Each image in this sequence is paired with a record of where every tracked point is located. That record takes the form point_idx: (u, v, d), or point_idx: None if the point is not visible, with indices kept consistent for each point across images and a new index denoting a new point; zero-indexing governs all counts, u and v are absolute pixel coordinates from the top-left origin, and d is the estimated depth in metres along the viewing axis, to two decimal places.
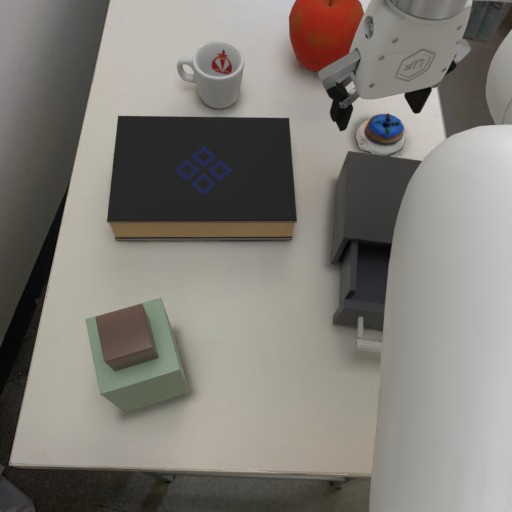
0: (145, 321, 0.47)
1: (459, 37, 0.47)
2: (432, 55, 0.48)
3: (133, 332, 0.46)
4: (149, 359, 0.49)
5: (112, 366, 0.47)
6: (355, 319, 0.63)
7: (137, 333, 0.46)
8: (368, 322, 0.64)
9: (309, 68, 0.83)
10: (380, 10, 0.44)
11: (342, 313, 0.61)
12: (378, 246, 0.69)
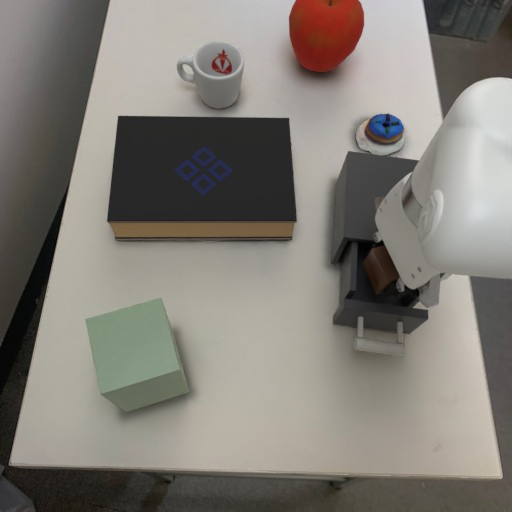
0: None
1: None
2: None
3: None
4: None
5: (383, 288, 0.59)
6: (355, 319, 0.63)
7: None
8: (368, 322, 0.64)
9: (309, 68, 0.83)
10: None
11: (342, 313, 0.61)
12: None
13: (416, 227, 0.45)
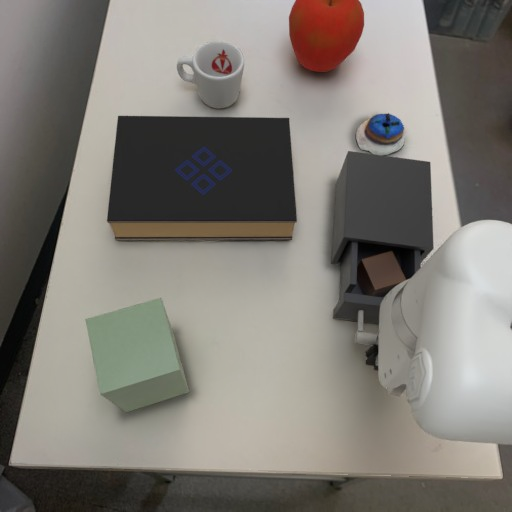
0: (397, 262, 0.64)
1: None
2: None
3: (391, 270, 0.63)
4: None
5: None
6: (355, 313, 0.64)
7: (393, 271, 0.63)
8: (368, 316, 0.64)
9: (309, 68, 0.83)
10: None
11: (343, 306, 0.62)
12: None
13: (395, 331, 0.44)
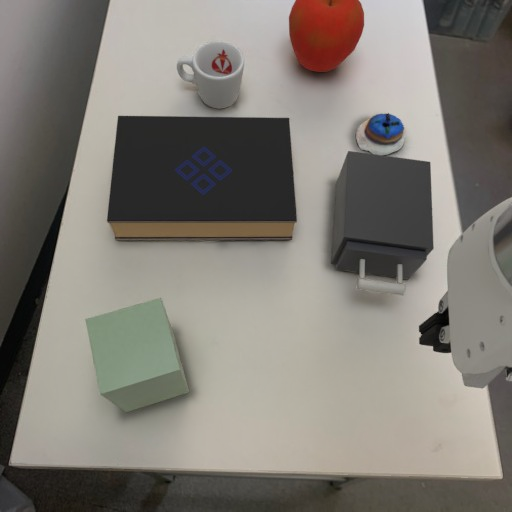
0: None
1: None
2: None
3: None
4: None
5: None
6: (357, 263, 0.67)
7: None
8: (369, 266, 0.67)
9: (309, 68, 0.83)
10: None
11: (345, 255, 0.65)
12: None
13: (502, 274, 0.26)
